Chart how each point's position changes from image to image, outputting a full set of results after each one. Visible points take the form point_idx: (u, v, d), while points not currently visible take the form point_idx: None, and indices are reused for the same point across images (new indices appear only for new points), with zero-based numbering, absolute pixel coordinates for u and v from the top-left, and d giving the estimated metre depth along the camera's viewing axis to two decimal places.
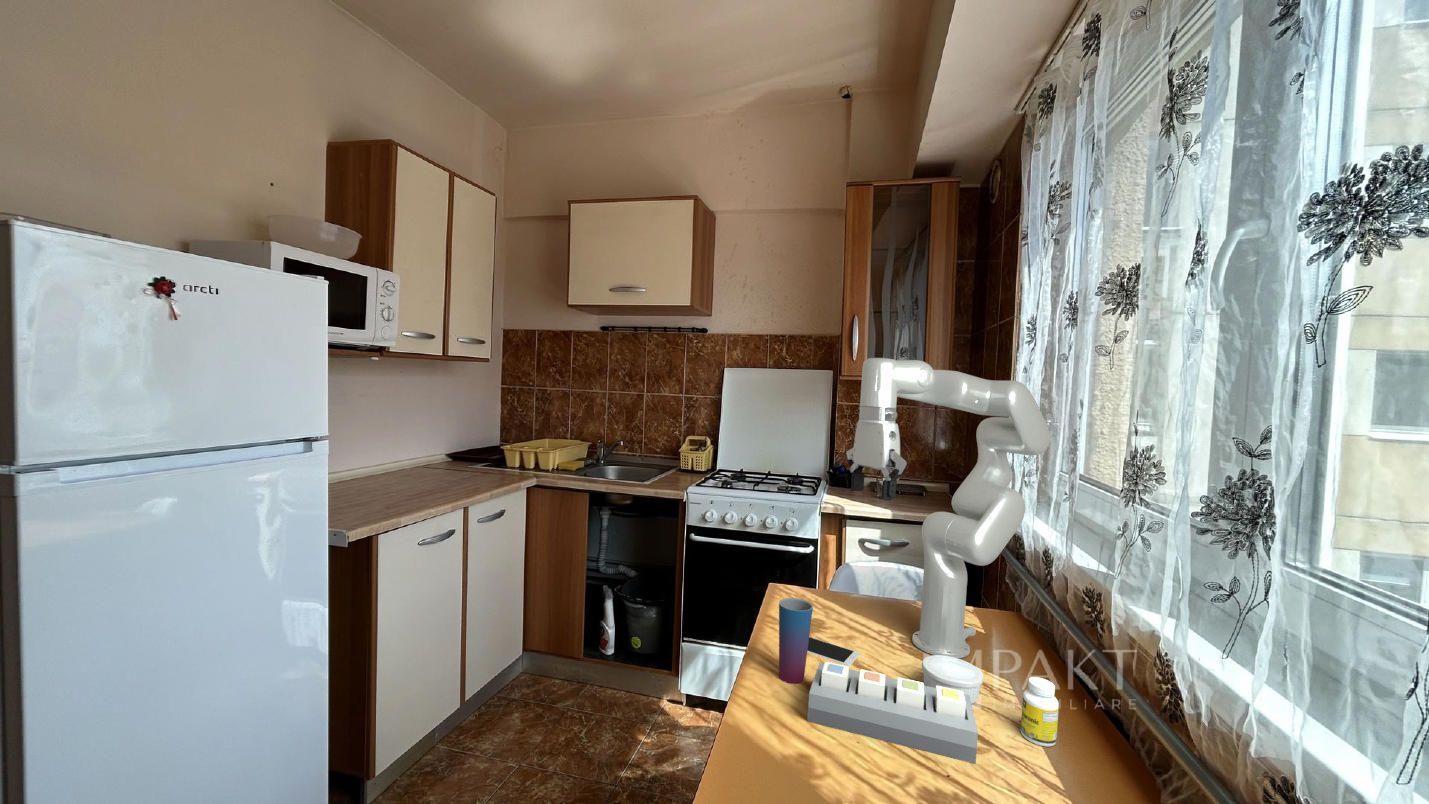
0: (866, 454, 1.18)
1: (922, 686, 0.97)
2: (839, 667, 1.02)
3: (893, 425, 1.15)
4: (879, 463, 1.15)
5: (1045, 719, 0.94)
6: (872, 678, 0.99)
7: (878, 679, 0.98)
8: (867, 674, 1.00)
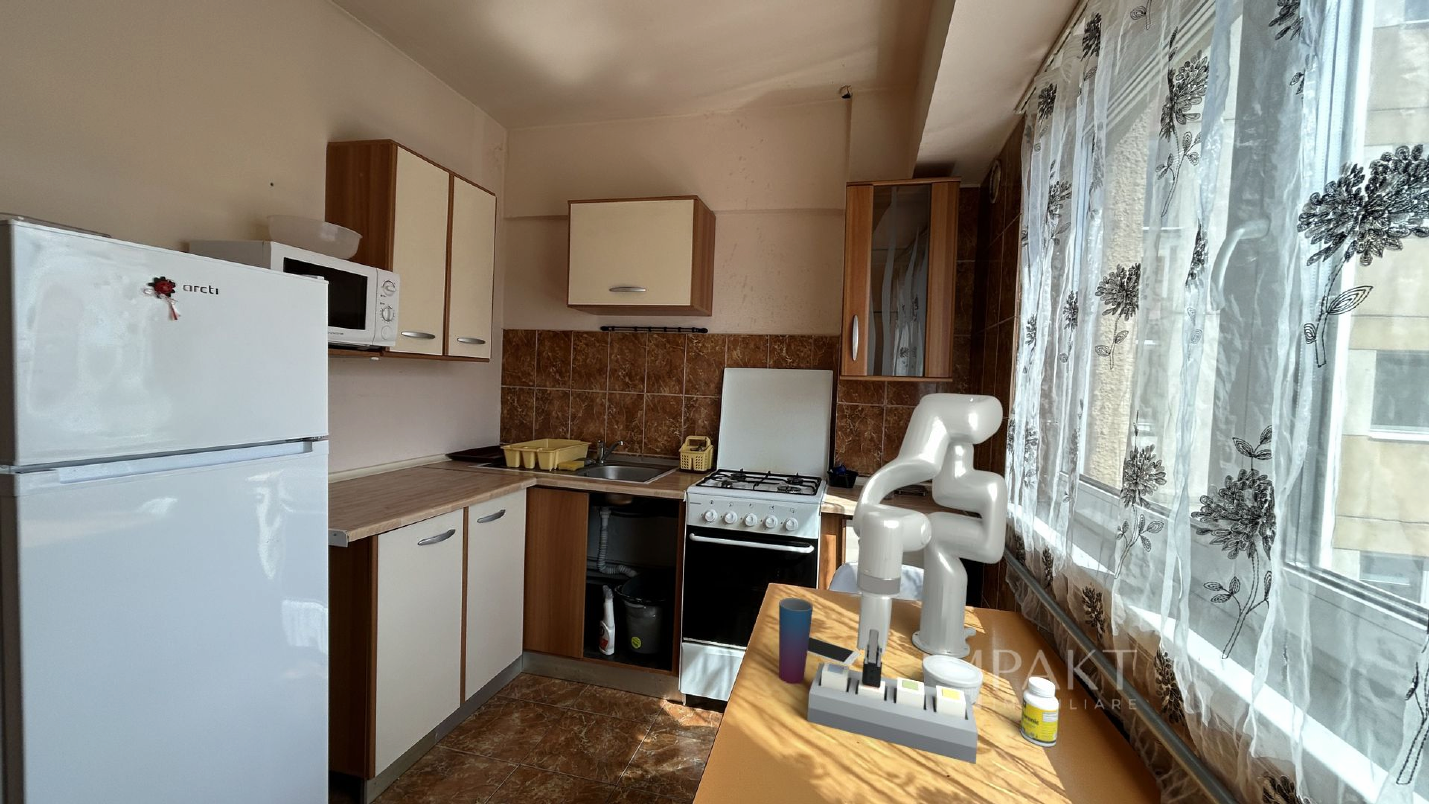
0: None
1: (922, 686, 0.97)
2: (839, 667, 1.02)
3: None
4: None
5: (1045, 719, 0.94)
6: None
7: None
8: None
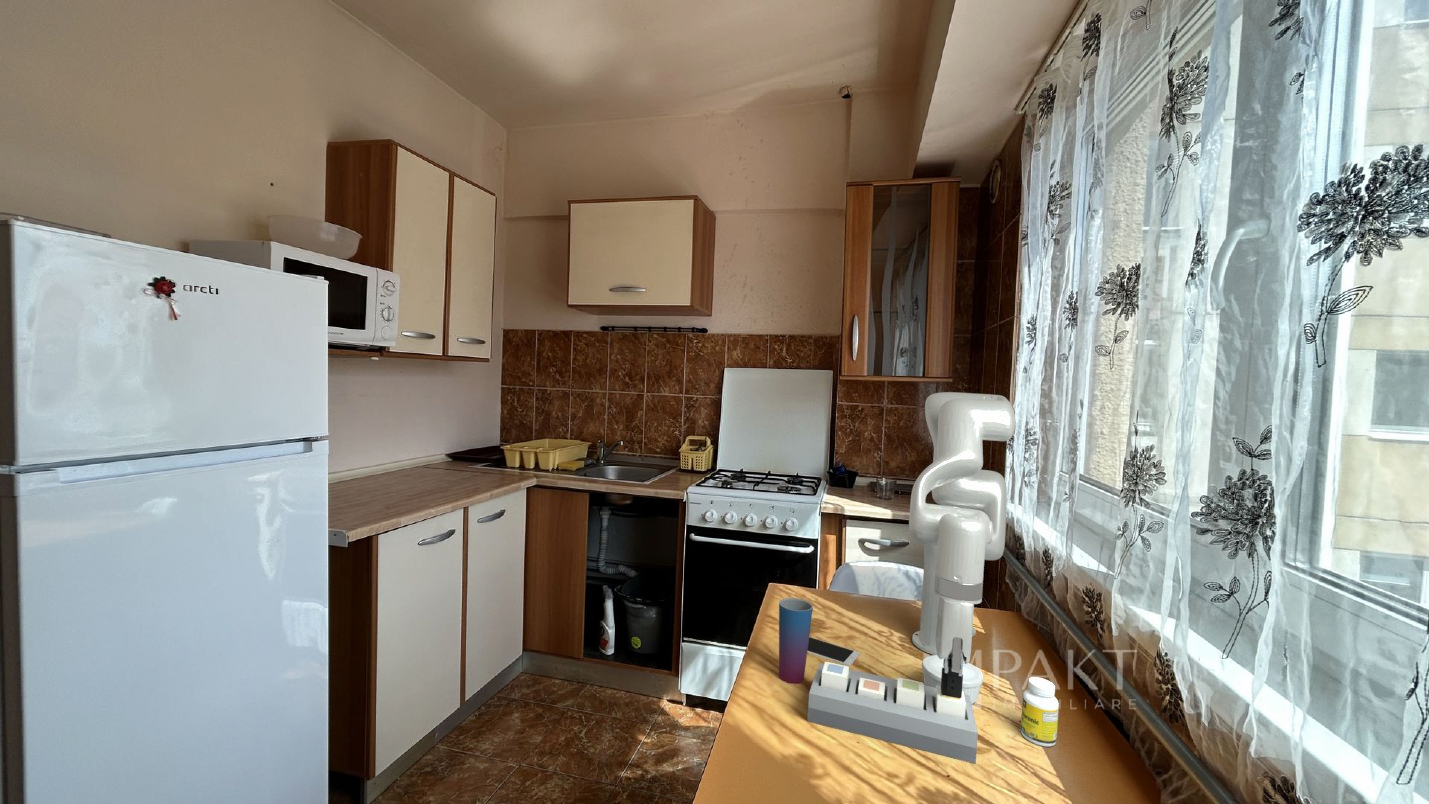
0: None
1: (922, 686, 0.97)
2: (839, 667, 1.02)
3: None
4: None
5: (1045, 719, 0.94)
6: (871, 687, 0.99)
7: (878, 688, 0.98)
8: (866, 682, 1.00)
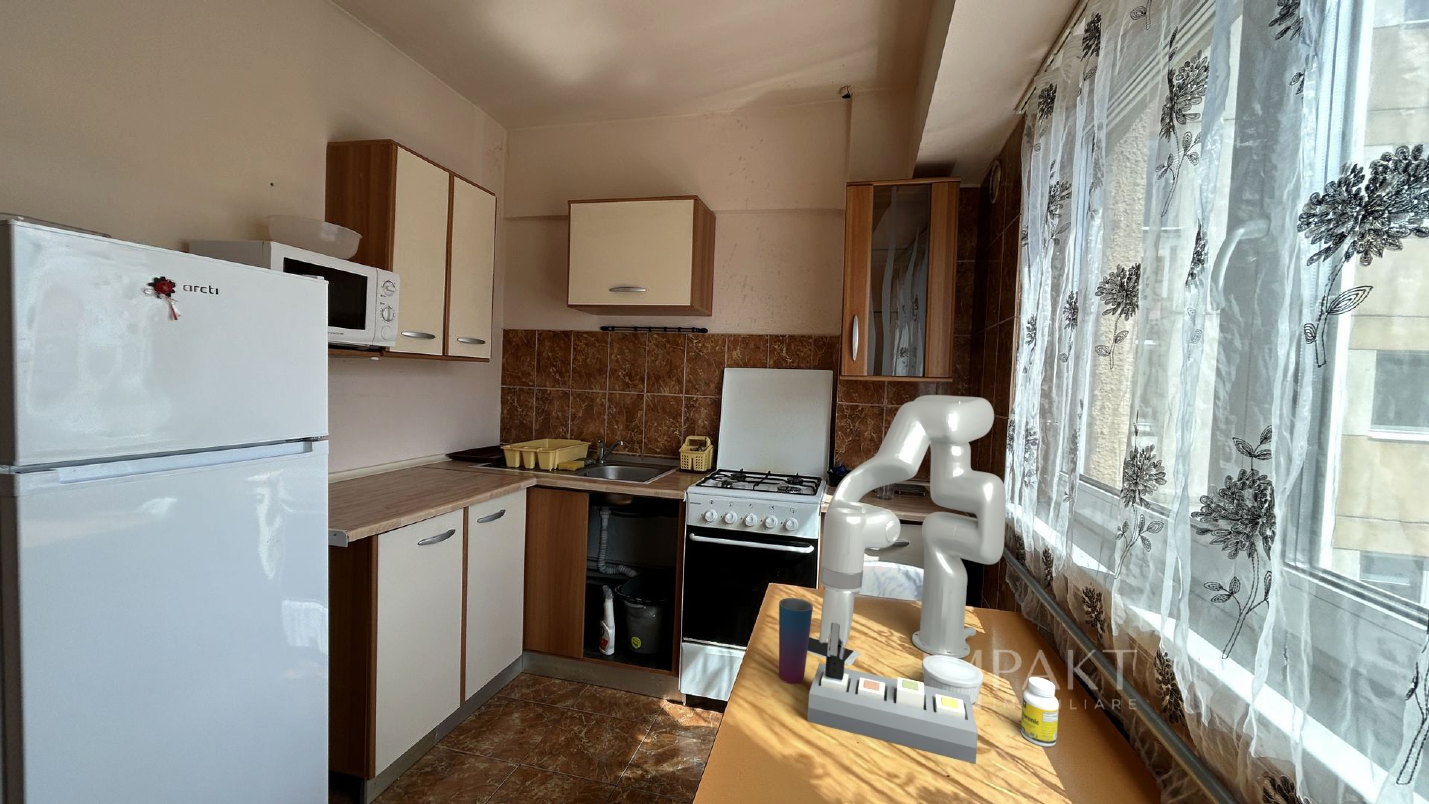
0: None
1: (922, 686, 0.97)
2: None
3: None
4: None
5: (1045, 719, 0.94)
6: (871, 687, 0.99)
7: (878, 688, 0.98)
8: (866, 682, 1.00)
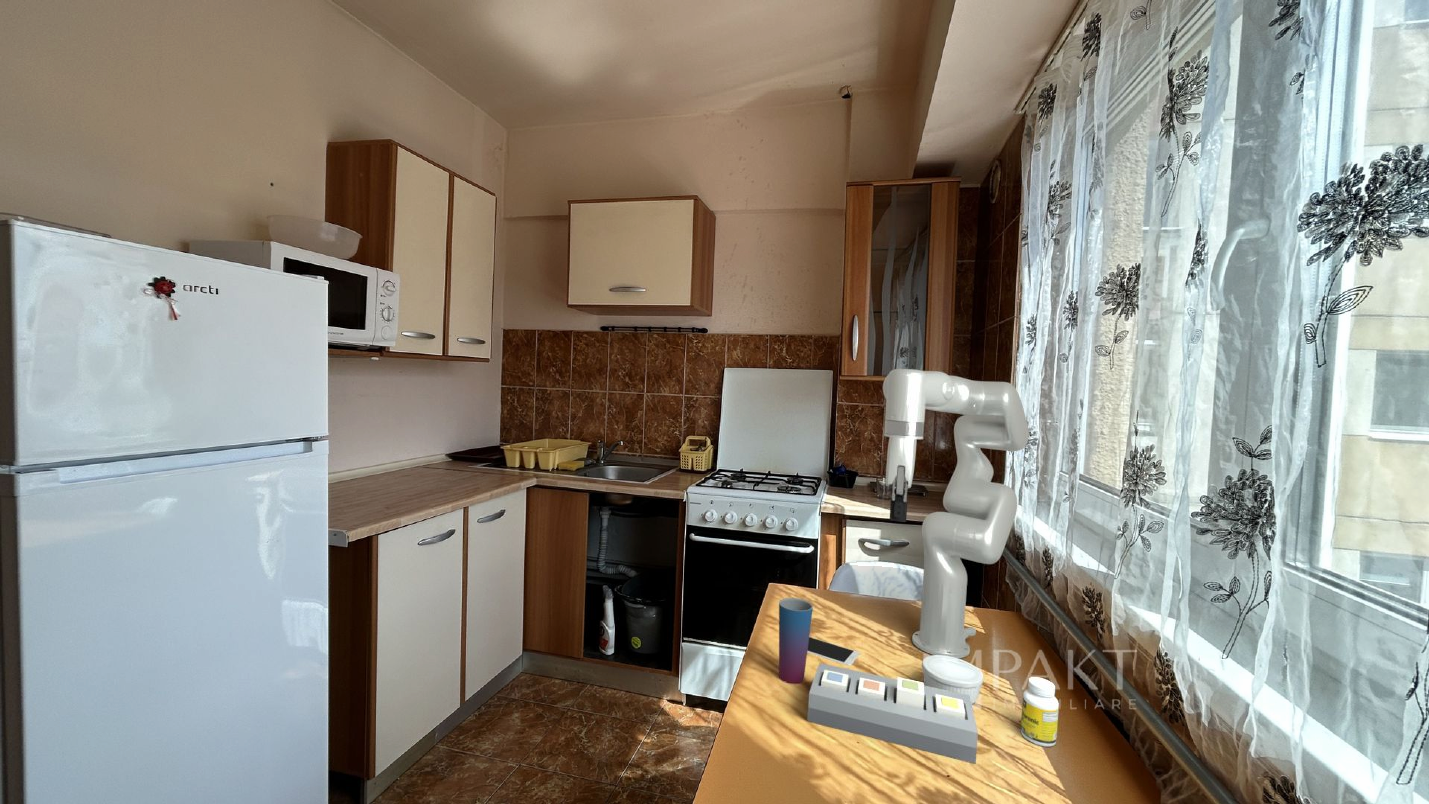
0: None
1: (922, 686, 0.97)
2: (838, 675, 1.02)
3: None
4: None
5: (1045, 719, 0.94)
6: (871, 687, 0.99)
7: (878, 688, 0.98)
8: (866, 682, 1.00)
